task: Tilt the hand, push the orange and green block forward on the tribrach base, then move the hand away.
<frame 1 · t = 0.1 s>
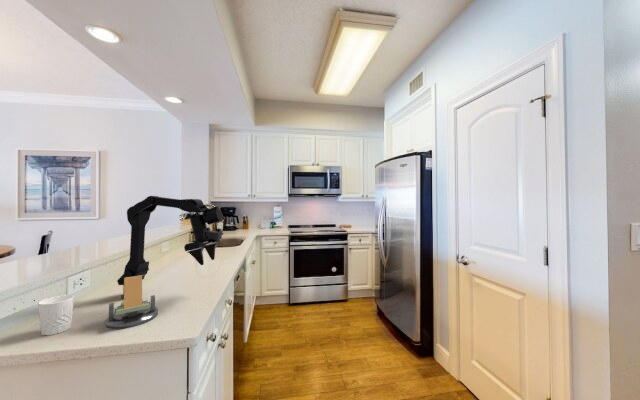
hand: (207, 262, 108), 15 cm above the worktop, tool pointing down, fingers open, 9 cm apart
orange and green block: (132, 292, 90), point 9 cm above the worktop, hinge at -12.0°
tribrach base: (132, 318, 89), on the worktop
white cup: (56, 331, 80), on the worktop
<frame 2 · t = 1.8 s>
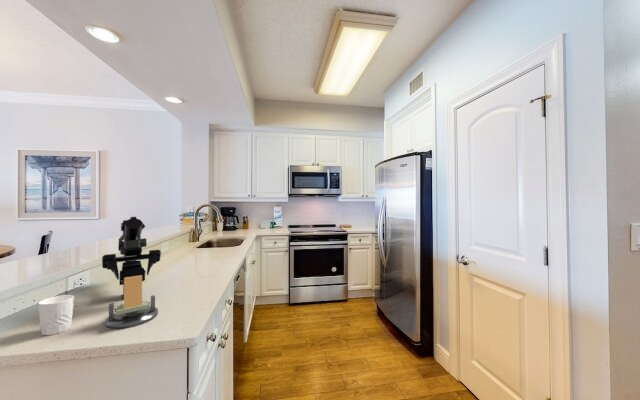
hand: (133, 276, 96), 12 cm above the worktop, tool tilted 45°, fingers open, 9 cm apart
nothing on the worktop moved.
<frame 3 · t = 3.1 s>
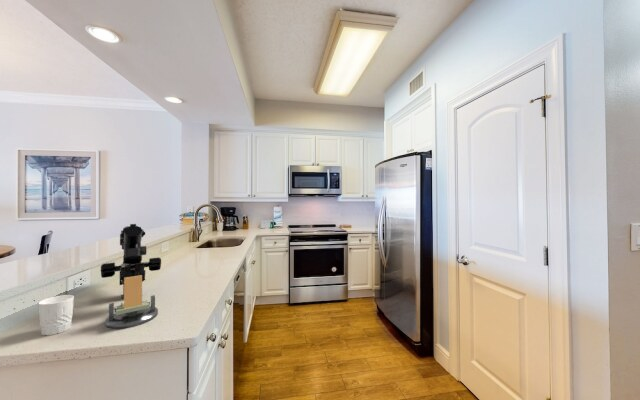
hand: (132, 286, 93), 10 cm above the worktop, tool tilted 45°, fingers closed
nothing on the worktop moved.
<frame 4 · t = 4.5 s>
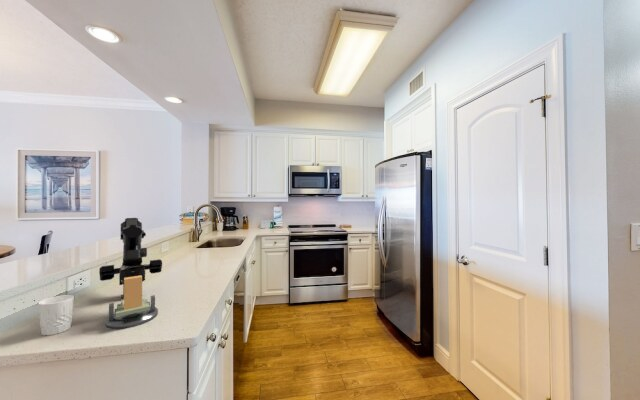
hand: (132, 289, 90), 10 cm above the worktop, tool tilted 45°, fingers closed, pressing on orange and green block
orange and green block: (133, 292, 89), point 9 cm above the worktop, hinge at -6.4°, touching gripper
everything else where it was.
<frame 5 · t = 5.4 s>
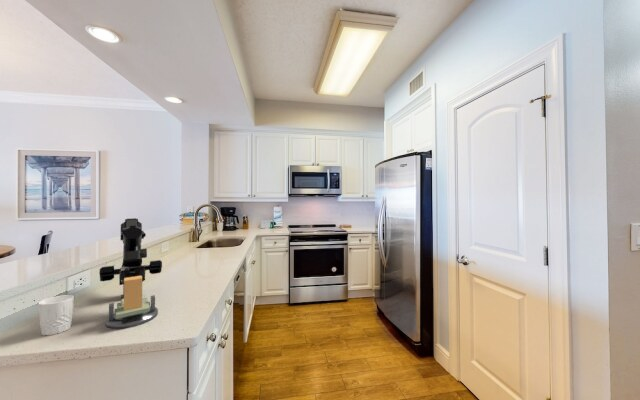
hand: (132, 290, 90), 9 cm above the worktop, tool tilted 45°, fingers closed
orange and green block: (133, 292, 89), point 9 cm above the worktop, hinge at -2.6°
everything else where it was.
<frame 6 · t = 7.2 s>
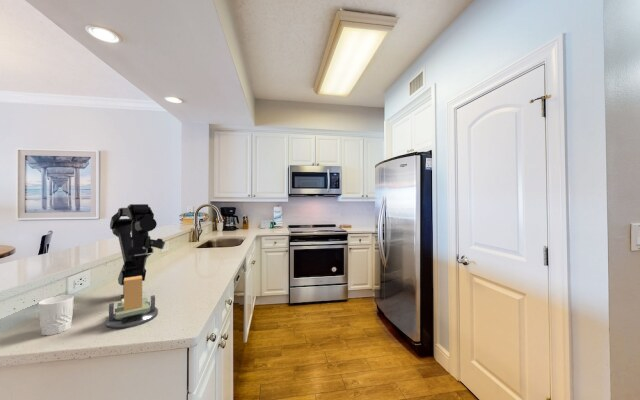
hand: (142, 272, 101), 13 cm above the worktop, tool pointing down, fingers closed
nothing on the worktop moved.
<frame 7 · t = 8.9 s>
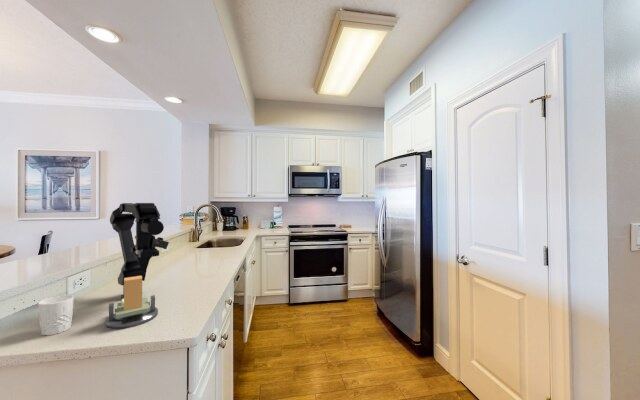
hand: (144, 271, 102), 13 cm above the worktop, tool pointing down, fingers closed
nothing on the worktop moved.
at the end: orange and green block at -3° (first picture: -12°) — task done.
